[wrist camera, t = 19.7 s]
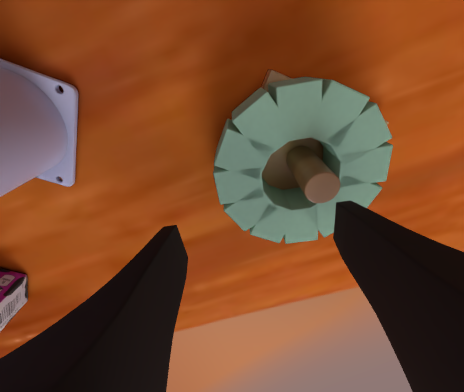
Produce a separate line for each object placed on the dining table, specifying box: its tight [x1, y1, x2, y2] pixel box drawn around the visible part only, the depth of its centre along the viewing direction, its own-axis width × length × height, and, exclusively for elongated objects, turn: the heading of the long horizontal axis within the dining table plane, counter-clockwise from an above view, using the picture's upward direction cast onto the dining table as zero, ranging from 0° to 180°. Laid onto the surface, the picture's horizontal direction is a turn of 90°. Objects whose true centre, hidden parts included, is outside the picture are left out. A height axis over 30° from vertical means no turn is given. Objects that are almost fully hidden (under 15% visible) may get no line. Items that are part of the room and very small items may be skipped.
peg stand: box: [261, 69, 388, 203], centre depth 15 cm, size 9×9×6 cm
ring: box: [213, 77, 393, 244], centre depth 16 cm, size 11×11×3 cm
